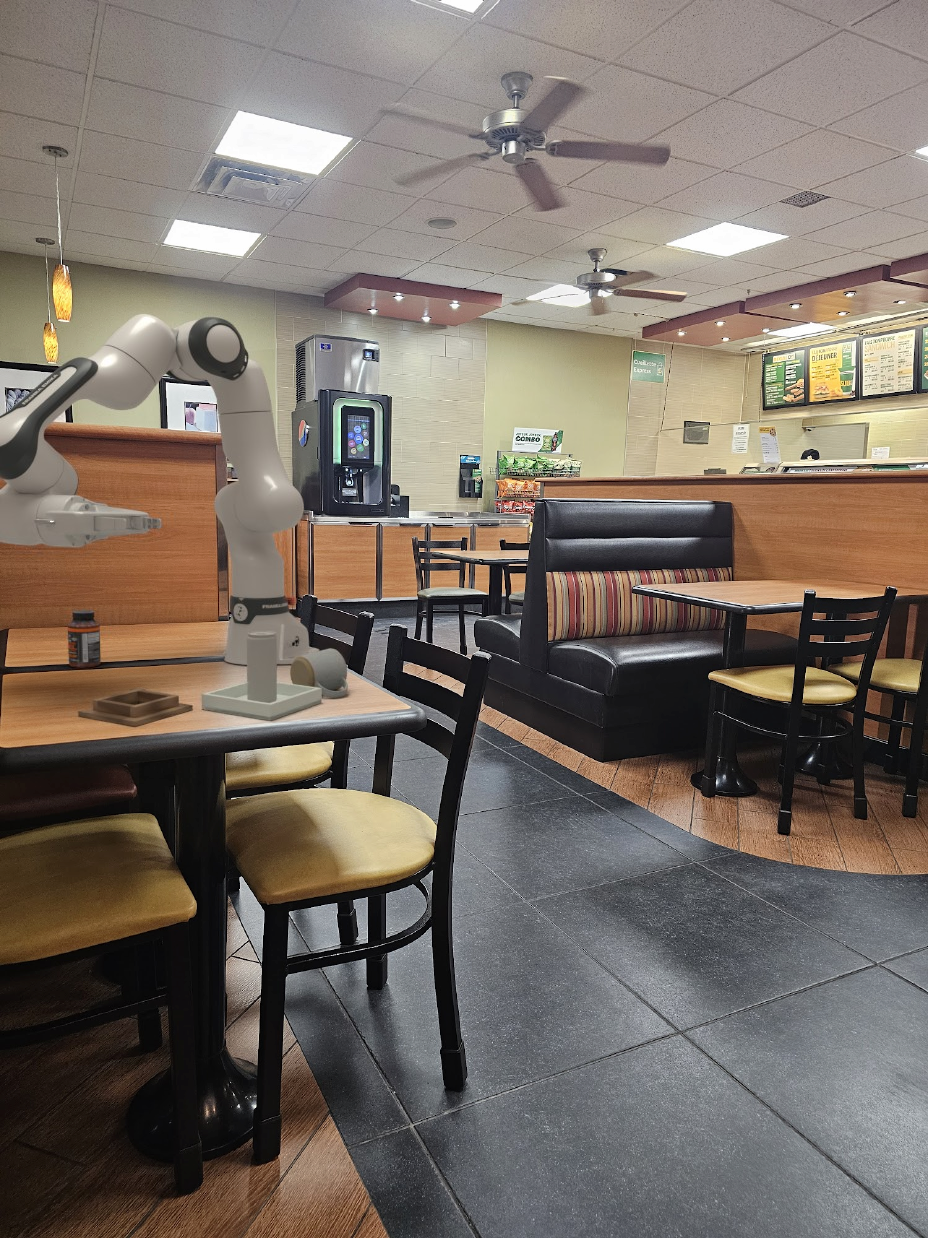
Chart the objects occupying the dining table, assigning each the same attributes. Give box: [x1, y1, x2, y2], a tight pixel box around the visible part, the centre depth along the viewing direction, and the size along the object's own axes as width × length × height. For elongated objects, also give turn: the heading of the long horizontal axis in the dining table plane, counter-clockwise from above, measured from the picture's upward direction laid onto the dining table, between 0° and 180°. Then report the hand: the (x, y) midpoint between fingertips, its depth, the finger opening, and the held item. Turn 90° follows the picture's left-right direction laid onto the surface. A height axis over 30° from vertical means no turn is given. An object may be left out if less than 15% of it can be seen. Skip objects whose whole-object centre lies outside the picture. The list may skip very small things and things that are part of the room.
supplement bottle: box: [67, 609, 102, 669], centre depth 161 cm, size 6×6×11 cm
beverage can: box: [246, 631, 278, 703], centre depth 132 cm, size 5×5×12 cm
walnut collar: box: [77, 687, 194, 728], centre depth 126 cm, size 12×12×2 cm
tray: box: [201, 681, 323, 722], centre depth 133 cm, size 14×14×3 cm
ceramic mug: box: [289, 648, 349, 699], centre depth 144 cm, size 11×8×8 cm
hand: (144, 523), depth 133 cm, fingers open, 8 cm apart
